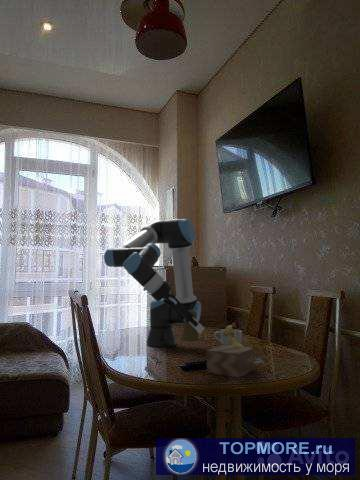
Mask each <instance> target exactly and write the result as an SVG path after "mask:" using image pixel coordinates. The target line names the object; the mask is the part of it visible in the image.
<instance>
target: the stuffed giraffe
mask: <svg viewBox="0 0 360 480" xmlns="http://www.w3.org/2000/svg"><path fill="white" fill-rule="evenodd" d="M224 329H225V331H224V335H225V336H226V337H227V336H229V335H230V334H231V339H230V343H229V345H233V346H242V347H245V345H243V343H241V344H240V343H237V342H236V329H237V326H236V322H233V323H231V324H229V325H227V326H226V327H225V328H224ZM259 363H264V360H262V359H261V357H258V358H256V359H255V361H254V364H259Z"/></svg>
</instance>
